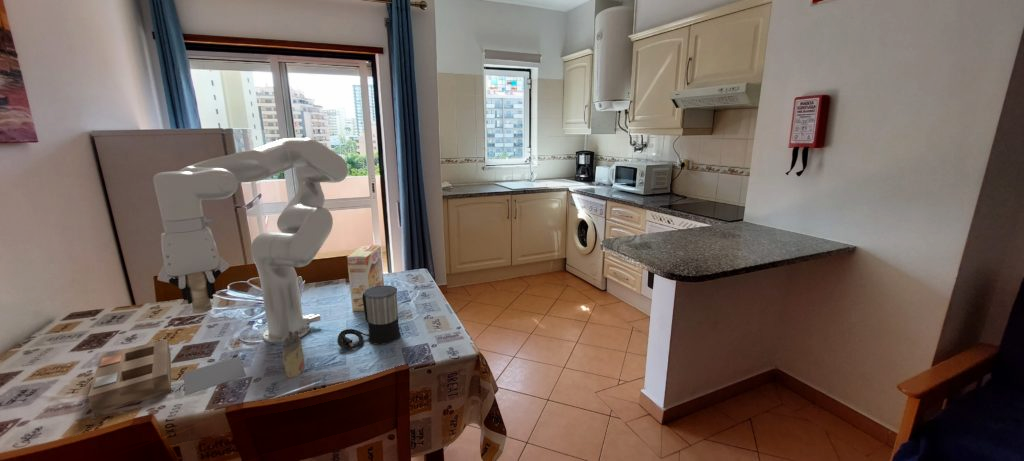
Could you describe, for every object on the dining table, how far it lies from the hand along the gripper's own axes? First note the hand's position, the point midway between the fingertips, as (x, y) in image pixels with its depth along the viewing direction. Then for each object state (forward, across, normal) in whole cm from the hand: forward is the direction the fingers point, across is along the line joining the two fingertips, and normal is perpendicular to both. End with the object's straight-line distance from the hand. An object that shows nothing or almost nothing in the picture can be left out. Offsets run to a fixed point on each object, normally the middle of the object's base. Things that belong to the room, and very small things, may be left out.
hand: (200, 299), depth 98 cm
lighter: (+21, -16, +11) cm, 28 cm away
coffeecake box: (+21, -47, -20) cm, 55 cm away
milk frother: (+21, -36, +8) cm, 43 cm away
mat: (+21, 0, 0) cm, 21 cm away
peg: (+3, 0, 0) cm, 3 cm away
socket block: (+20, +15, -9) cm, 27 cm away
